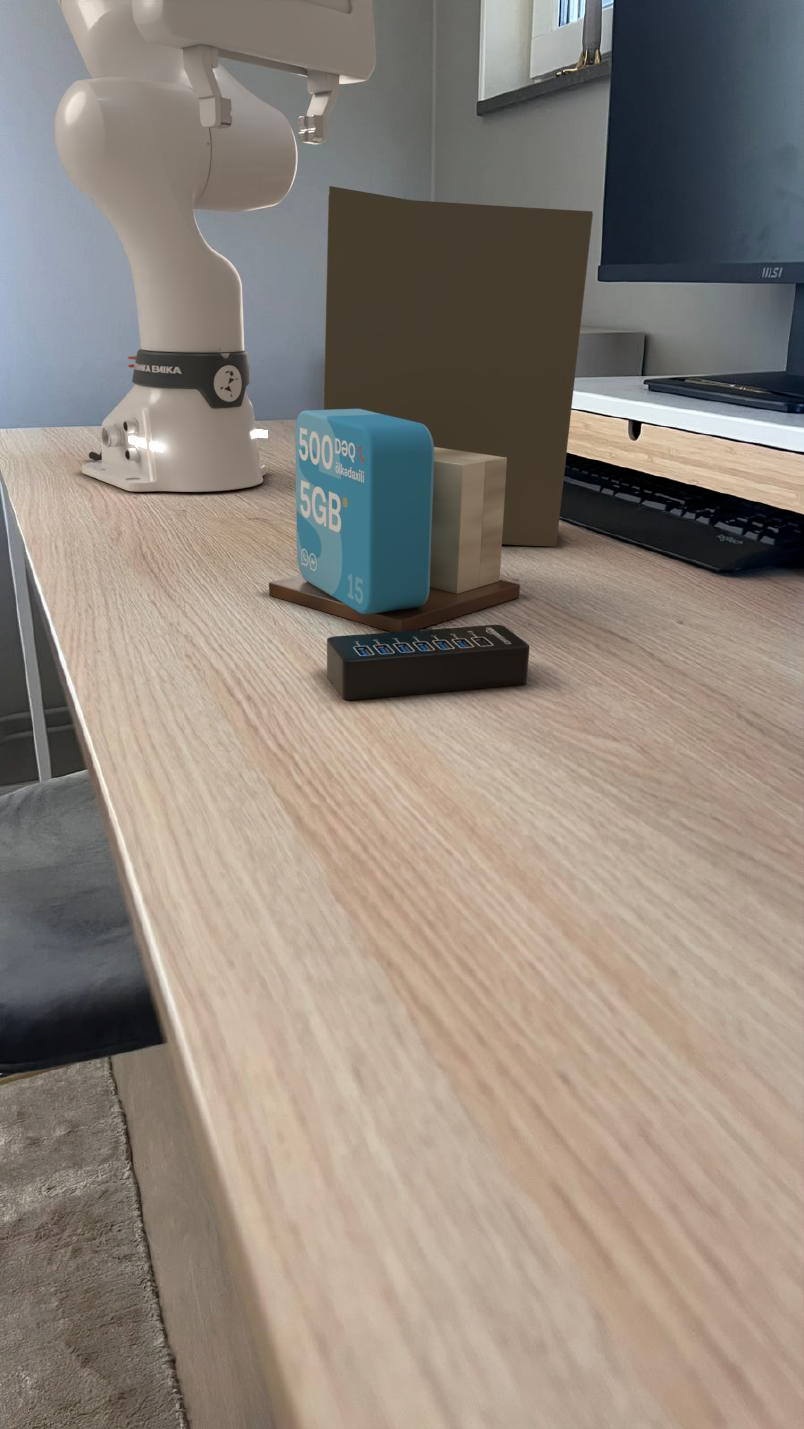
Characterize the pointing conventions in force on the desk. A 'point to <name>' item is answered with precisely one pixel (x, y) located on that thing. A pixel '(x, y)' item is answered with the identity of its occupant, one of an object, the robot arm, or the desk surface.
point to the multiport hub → (426, 661)
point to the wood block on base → (442, 549)
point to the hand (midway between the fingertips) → (266, 135)
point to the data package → (364, 507)
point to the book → (462, 332)
